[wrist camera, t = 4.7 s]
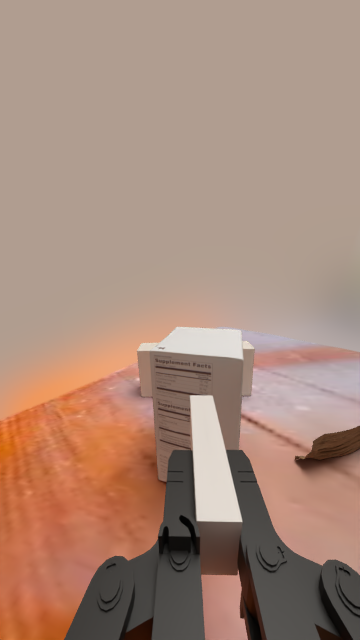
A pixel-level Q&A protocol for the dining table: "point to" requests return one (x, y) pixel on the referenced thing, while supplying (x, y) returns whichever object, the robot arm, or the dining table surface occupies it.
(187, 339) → the supplement box
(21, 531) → the dining table surface
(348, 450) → the brown bark piece
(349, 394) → the dining table surface
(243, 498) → the robot arm
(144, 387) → the white rectangular block
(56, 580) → the dining table surface
